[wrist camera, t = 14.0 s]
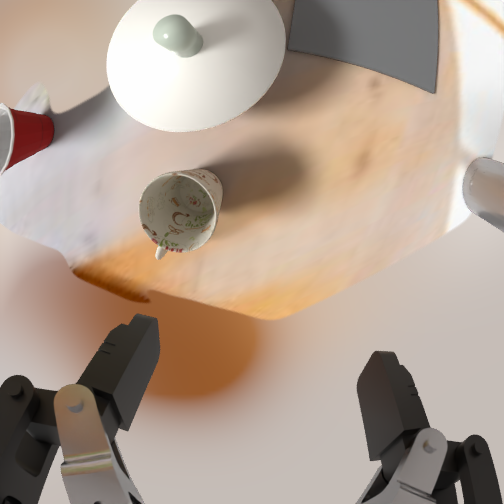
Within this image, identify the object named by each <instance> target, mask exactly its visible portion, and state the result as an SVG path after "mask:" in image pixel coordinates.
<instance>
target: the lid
mask: <svg viewBox="0 0 504 504" xmlns="http://www.w3.org/2000/svg"><path fill="white" fill-rule="evenodd" d="M285 44H286V36H285V28H284V24H283V20H282V17H281V15H280V13H279V11H278V9H277V7H276V6H275V5H274V3H273V2H272V0H138V1H137V2H136V3H135V4H134V5H133V6H132V7H131V8H130V9H129V10H128V11H127V13H126V14H125V15H124V17H123V18H122V19H121V21H120V22H119V24H118V26H117V28H116V30H115V31H114V34H113V36H112V39H111V41H110V45H109V49H108V54H107V76H108V82H109V85H110V88H111V91H112V93H113V95H114V97H115V99H116V100H117V102H118V103H119V105H120V106H121V107H122V108H123V109H124V110H125V111H126V112H127V113H128V114H129V115H130V116H132V117H133V118H134V119H136V120H137V121H139V122H141V123H143V124H145V125H147V126H150V127H152V128H155V129H159V130H163V131H171V132H191V131H199V130H205V129H209V128H213V127H216V126H218V125H221V124H224V123H226V122H228V121H230V120H232V119H234V118H236V117H238V116H240V115H241V114H243V113H244V112H246V111H247V110H248V109H250V108H251V107H252V106H253V105H255V104H256V103H257V102H258V101H259V100H260V99H261V98H262V97H263V96H264V95H265V94H266V92H267V91H268V90H269V88H270V87H271V86H272V84H273V82H274V81H275V79H276V77H277V75H278V73H279V71H280V68H281V66H282V63H283V58H284V54H285Z"/></svg>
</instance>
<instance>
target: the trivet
mask: <svg viewBox="0 0 504 504" xmlns="http://www.w3.org/2000/svg"><path fill="white" fill-rule="evenodd" d="M288 50H292V51H298V52H303V53H308V54H313V55H318V56H322V57H327V58H331V59H335V60H339V61H343V62H346V63H350V64H353V65H357V66H360V67H364V68H367V69H370V70H373V71H376V72H379V73H382V74H385V75H388V76H390V77H393V78H396V79H399V80H401V81H404V82H406V83H409V84H411V85H414V86H416V87H418V88H421V89H423V90H425V91H427V92H430V93H432V94H433V93H434V91H435V81H436V69H437V52H438V6H437V0H295V6H294V12H293V18H292V25H291V31H290V38H289V44H288Z"/></svg>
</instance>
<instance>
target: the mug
mask: <svg viewBox="0 0 504 504" xmlns="http://www.w3.org/2000/svg"><path fill="white" fill-rule="evenodd" d="M222 197H223V188H222V184H221V182H220V180H219V179H218V177H217V176H216V175H215V174H213V173H212V172H210V171H208V170H204V169H193V170H184V171H176V172H169V173H165V174H162V175H160V176H158V177H156V178H155V179H153V180H152V181H151V182H150V183H149V184H148V185H147V186H146V188H145V189H144V191H143V193H142V195H141V198H140V202H139V217H140V221H141V224H142V227H143V229H144V231H145V232H146V234H147V235H148V236H149V238H150V239H151V240H152V241H153V242H154V243H156V244H157V245H158V248H157V251H156V259H158V260H159V259H161V258H162V257H163V256H164V255H165V254H166V252H167V251H168V250H169V251H173V252H189V251H193V250H196V249H198V248H199V247H201V246H202V245H204V244H205V243H206V242H207V241H208V240H209V239H210V237H211V236H212V234H213V232H214V230H215V228H216V225H217V221H218V216H219V211H220V207H221V202H222Z"/></svg>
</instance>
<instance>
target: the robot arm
mask: <svg viewBox="0 0 504 504" xmlns="http://www.w3.org/2000/svg"><path fill="white" fill-rule="evenodd" d="M463 195H464V200H465V203H466V205H467V207H468V208H469V210H470V211H471V212H473V213H474V214H476V215H478V216H479V217H481V218H482V219H484V220H486V221H487V222H489V223H490V224H492V225H493V226H495V227H496V228H498V229H500V230H501V231H503V232H504V163H501V162H498V161H495V160H491V159H488V158H478V159H476V160H475V161H473V162H472V163H471V165H470V166H469V167H468V169H467V171H466V174H465V177H464V182H463ZM159 354H160V341H159V330H158V320H157V318H154V317H150V316H146V315H142V314H136V315H135V316H134V317H133V319H132V320H131V322H130V324H129V325H125V324H120V325H119V326H117V327H116V328H114V329H113V330H112V331H110V333H109V334H108V336H107V337H106V339H105V340H104V343H102V345H101V346H100V348H99V350H98V351H97V352H96V354H95V355H94V357H93V358H92V360H91V361H90V363H89V364H88V366H87V367H86V369H85V371H84V372H83V374H82V376H81V377H80V379H79V380H78V382H77V383H76V384H70V385H66V386H64V387H62V388H61V389H60V390H59V391H52V390H45V389H39V388H34V386H33V385H32V383H31V381H30V380H29V379H28V378H26V377H24V376H21V375H14V376H11V377H9V378H8V379H6V380H5V381H4V383H3V384H2V385H1V387H0V504H38V501H39V498H40V495H41V492H42V489H43V486H44V484H45V481H46V478H47V476H48V473H49V470H50V467H51V465H52V462H53V460H54V457H55V455H56V453H57V450H58V448H59V446H61V447H62V452H63V456H64V463H62V464H61V474H62V478H63V481H64V484H65V488H66V491H67V494H68V497H69V500H70V503H71V504H145V503H144V501H143V499H142V498H141V495H140V494H139V492H138V490H137V488H136V487H135V485H134V483H133V481H132V479H131V477H130V475H129V472H128V470H127V467H126V465H125V463H124V460H123V458H122V455H121V452H120V450H119V447H118V444H117V442H116V439H115V435H116V433H117V431H118V428H120V429H123V430H125V431H128V430H129V428H130V426H131V423H132V421H133V418H134V416H135V413H136V411H137V409H138V406H139V404H140V401H141V399H142V397H143V394H144V392H145V390H146V388H147V385H148V383H149V381H150V378H151V376H152V374H153V372H154V369H155V367H156V364H157V362H158V359H159ZM357 393H358V398H359V403H360V408H361V413H362V418H363V423H364V429H365V434H366V439H367V445H368V451H369V458H370V461H376V460H381V463H382V465H381V466H380V467H379V468H378V470H377V471H376V473H375V475H374V476H373V478H372V480H371V482H370V483H369V484H368V486H367V488H366V489H365V491H364V492H363V494H362V495H361V497H360V498H359V499H358V501H357V503H356V504H458V501H457V495H456V489H455V484H454V483H456V482H457V481H459V480H460V481H461V486H462V492H463V497H464V504H503V503H502V498H501V493H500V489H499V484H498V479H497V475H496V471H495V468H494V464H493V460H492V457H491V454H490V450H489V447H488V444H487V442H486V441H485V439H484V438H482V437H481V436H479V435H471V436H469V437H468V438H467V439H466V440H465V441H463V442H454V441H447V440H446V438H445V436H444V435H443V434H442V433H441V432H440V431H438V430H437V429H434V428H431V427H430V425H429V422H428V419H427V416H426V413H425V411H424V408H423V405H422V402H421V400H420V397H419V396H418V392H417V389H416V387H415V384H414V381H413V378H412V376H411V374H410V373H409V372H408V370H407V369H406V368H405V367H404V366H403V365H400V364H399V361H398V359H397V356H396V354H395V353H394V352H388V351H375V352H374V353H373V354H372V355H371V357H370V359H369V361H368V363H367V364H366V366H365V368H364V370H363V371H362V373H361V374H360V376H359V379H358V382H357Z"/></svg>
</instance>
